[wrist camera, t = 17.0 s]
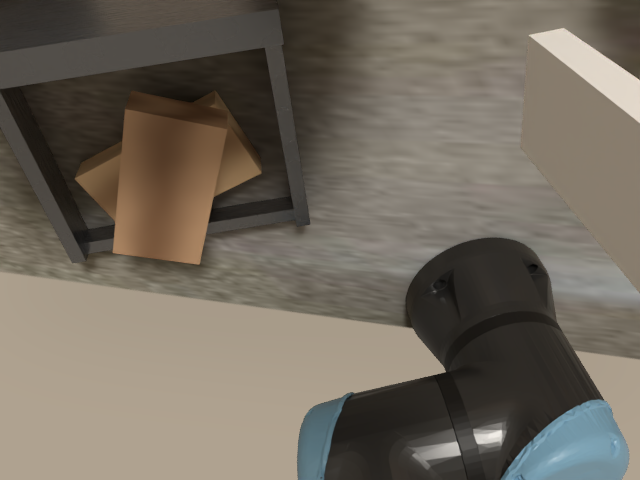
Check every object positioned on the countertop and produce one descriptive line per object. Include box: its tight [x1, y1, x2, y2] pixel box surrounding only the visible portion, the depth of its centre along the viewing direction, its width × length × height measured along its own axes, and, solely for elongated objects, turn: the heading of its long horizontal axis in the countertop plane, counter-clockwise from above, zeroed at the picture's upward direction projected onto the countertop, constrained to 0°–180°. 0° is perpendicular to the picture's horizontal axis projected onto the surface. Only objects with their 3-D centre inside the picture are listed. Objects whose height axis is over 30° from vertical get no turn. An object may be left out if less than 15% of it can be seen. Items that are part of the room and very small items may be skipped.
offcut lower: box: [75, 90, 262, 221], centre depth 47 cm, size 7×13×3 cm, turn 116°
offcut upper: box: [113, 91, 228, 265], centre depth 44 cm, size 7×13×3 cm, turn 164°
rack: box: [0, 0, 310, 263], centre depth 38 cm, size 23×21×18 cm
